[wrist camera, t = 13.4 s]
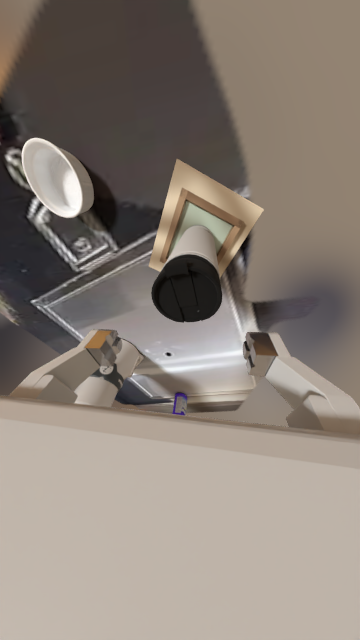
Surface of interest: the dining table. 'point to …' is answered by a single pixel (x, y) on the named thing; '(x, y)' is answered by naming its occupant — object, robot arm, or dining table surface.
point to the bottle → (180, 404)
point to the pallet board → (203, 215)
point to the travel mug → (190, 279)
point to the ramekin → (57, 178)
